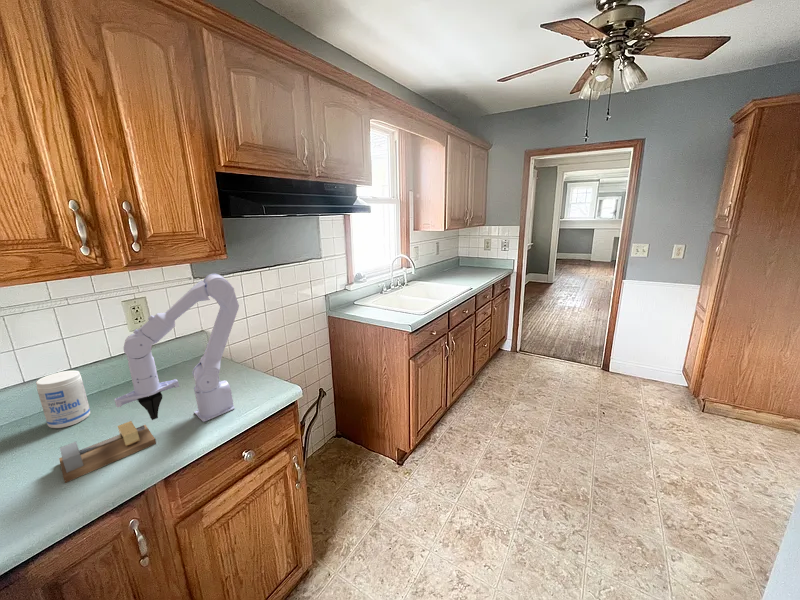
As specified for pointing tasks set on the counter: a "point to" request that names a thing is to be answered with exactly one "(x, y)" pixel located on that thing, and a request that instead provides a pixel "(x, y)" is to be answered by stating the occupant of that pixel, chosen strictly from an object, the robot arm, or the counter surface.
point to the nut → (128, 433)
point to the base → (100, 454)
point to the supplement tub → (63, 398)
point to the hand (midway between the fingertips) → (154, 417)
